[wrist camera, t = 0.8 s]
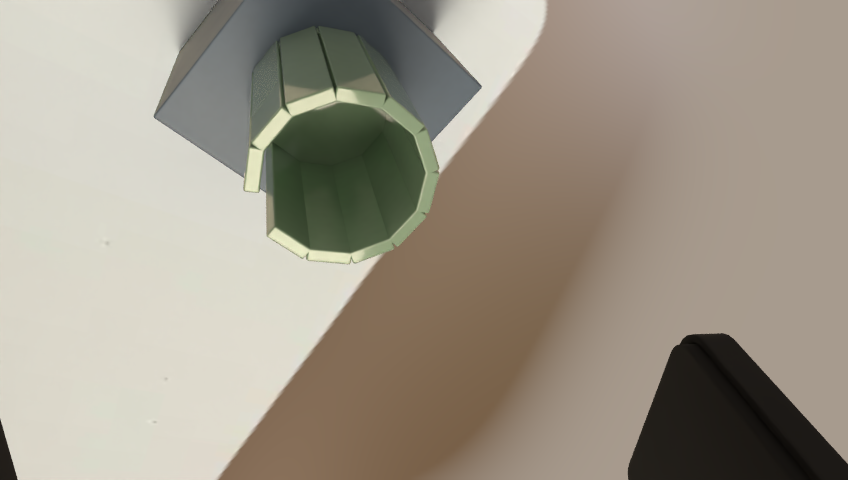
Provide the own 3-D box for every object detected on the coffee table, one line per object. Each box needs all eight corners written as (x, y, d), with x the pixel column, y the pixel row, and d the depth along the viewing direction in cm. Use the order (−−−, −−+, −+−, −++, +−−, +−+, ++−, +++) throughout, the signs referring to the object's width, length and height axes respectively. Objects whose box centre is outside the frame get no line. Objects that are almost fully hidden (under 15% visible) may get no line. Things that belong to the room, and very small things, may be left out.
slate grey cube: (294, -99, 27) (305, -80, 20) (434, 33, 30) (482, 87, 24) (178, 53, 29) (152, 117, 22) (323, 160, 32) (339, 242, 26)
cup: (313, -7, 21) (331, 45, 16) (425, 92, 23) (474, 167, 18) (218, 111, 22) (204, 198, 17) (334, 193, 25) (354, 292, 19)
